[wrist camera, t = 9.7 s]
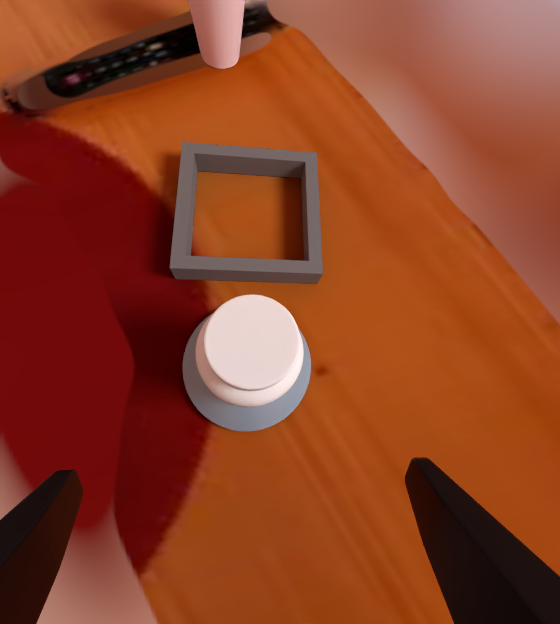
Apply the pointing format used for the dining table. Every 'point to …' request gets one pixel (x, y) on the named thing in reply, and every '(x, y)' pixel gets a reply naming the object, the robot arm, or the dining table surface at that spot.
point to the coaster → (237, 415)
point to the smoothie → (218, 30)
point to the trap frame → (250, 164)
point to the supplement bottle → (249, 351)
